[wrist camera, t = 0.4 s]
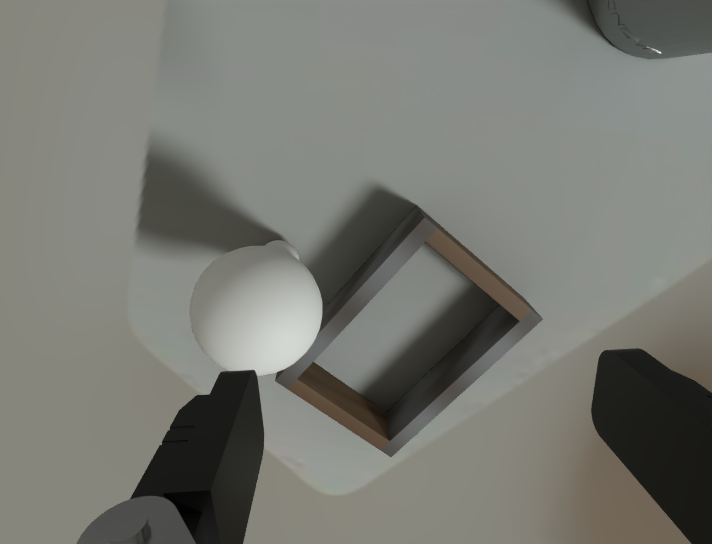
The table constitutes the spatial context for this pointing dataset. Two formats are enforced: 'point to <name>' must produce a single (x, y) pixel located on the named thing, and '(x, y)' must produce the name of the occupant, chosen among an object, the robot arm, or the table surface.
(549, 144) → the table surface
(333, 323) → the brown wooden shallow box
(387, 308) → the table surface
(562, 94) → the table surface
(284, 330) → the lightbulb
